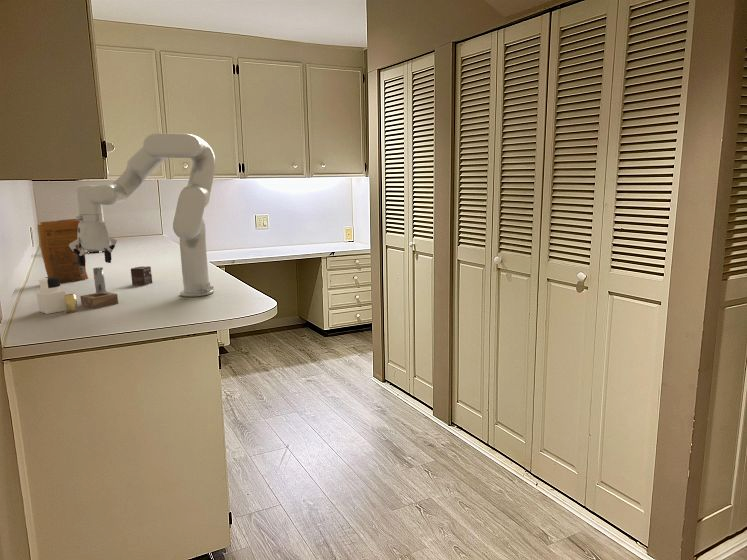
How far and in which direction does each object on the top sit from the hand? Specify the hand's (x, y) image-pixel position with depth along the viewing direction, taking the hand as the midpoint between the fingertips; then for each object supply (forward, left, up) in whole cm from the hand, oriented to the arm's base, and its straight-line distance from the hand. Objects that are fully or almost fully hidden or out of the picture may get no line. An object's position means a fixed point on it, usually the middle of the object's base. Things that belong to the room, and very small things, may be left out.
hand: (95, 264), depth 206 cm
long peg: (0, 0, -14) cm, 14 cm away
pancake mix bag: (+51, -11, -14) cm, 54 cm away
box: (+14, -25, -14) cm, 32 cm away
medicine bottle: (-4, +19, -14) cm, 23 cm away
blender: (+141, -69, -14) cm, 157 cm away
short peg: (-11, +16, -14) cm, 24 cm away
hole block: (-9, +5, -14) cm, 17 cm away
